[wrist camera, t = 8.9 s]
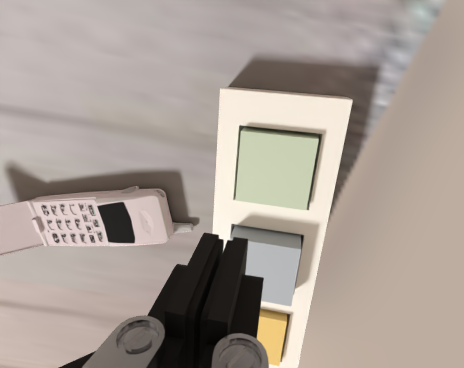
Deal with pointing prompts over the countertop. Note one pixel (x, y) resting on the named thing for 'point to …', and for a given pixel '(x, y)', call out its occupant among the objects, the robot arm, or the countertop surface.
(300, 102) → the keypad
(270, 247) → the key slate
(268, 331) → the key ochre
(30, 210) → the mobile phone
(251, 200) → the key sage
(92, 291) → the countertop surface
